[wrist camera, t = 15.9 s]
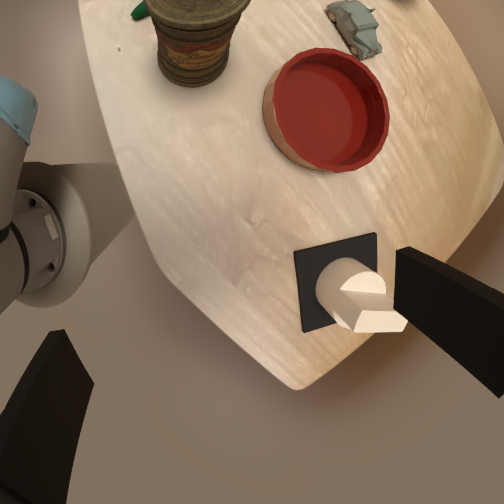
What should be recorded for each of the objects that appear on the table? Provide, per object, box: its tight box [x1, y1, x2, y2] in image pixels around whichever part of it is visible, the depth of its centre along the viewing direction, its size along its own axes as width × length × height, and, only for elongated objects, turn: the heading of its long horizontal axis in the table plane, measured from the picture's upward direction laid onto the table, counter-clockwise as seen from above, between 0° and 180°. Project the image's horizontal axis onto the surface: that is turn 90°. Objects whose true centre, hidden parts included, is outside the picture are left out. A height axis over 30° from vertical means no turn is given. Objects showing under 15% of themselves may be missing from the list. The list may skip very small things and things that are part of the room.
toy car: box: [327, 0, 382, 60], centre depth 30 cm, size 6×10×5 cm, turn 30°
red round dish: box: [263, 48, 390, 173], centre depth 34 cm, size 17×17×5 cm
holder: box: [294, 232, 377, 333], centre depth 44 cm, size 14×14×1 cm
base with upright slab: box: [316, 258, 408, 332], centre depth 38 cm, size 9×9×12 cm
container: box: [144, 0, 251, 87], centre depth 22 cm, size 9×9×18 cm
